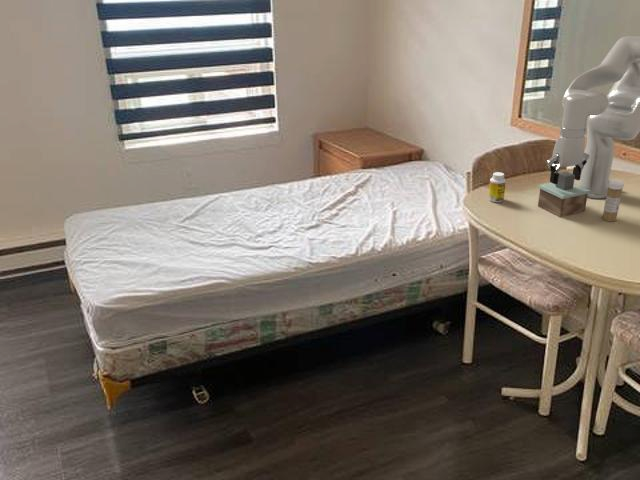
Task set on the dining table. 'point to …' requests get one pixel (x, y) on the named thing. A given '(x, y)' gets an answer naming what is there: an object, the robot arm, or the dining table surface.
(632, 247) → the dining table surface
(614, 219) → the sprinkles bottle
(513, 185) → the dining table surface
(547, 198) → the storage box
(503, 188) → the supplement bottle
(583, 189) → the lid
